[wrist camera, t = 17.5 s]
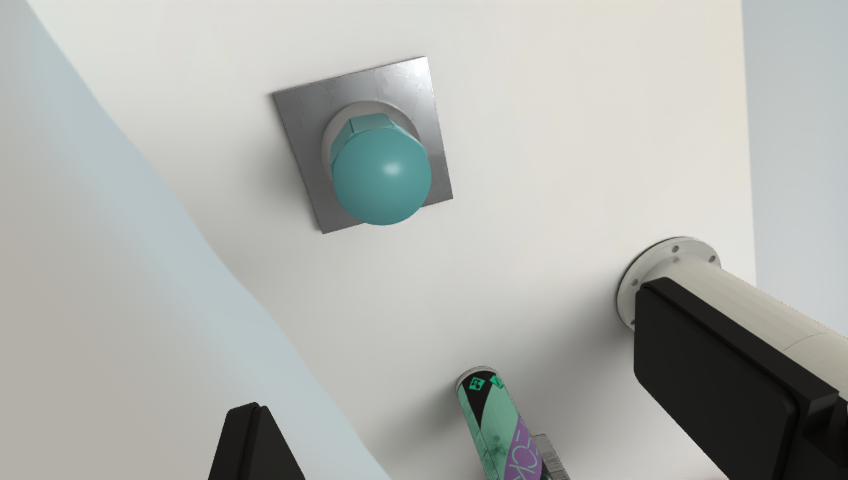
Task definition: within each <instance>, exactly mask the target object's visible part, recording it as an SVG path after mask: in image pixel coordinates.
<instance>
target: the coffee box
mask: <svg viewBox="0 0 848 480" xmlns="http://www.w3.org/2000/svg"><path fill="white" fill-rule="evenodd" d="M531 438H532V440H533V441H534V443H535V445H536V447H537V449H538V451H539V453H540V455H541V457H542V459H543V461H544V463H545V465H546V466H547V468H548V470H549V472H550V474H551V476H552V478H553V480H570V478H569V476H568V474H567V473H566V471H565V469H564V467H563V465H562V463H561V462H560V460H559V458H558V456H557V455H556V453H555V451H554V449H553V447H552V446H551V444H550V442H549V440H548V439H547V437H546V435H545V434H542V435H538V436H534V437H531Z"/></svg>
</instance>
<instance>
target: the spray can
mask: <svg viewBox="0 0 848 480" xmlns="http://www.w3.org/2000/svg"><path fill="white" fill-rule="evenodd" d="M456 393H457V397H458V399H459V402H460V405H461V408H462V410H463V413H464V416H465V418H466V421H467V424H468V427H469V429H470V432H471V435H472V438H473V440H474V443H475V446H476V448H477V451H478V454H479V457H480V459H481V462H482V465H483V468H484V470H485V473H486V476H487V478H488V480H553V478H552V476H551V474H550V472H549V470H548V468H547V466H546V465H545V463H544V461H543V459H542V457H541V455H540V453H539V451H538V449H537V447H536V445H535V443H534V441H533V440H532V438H531V436H530V434H529V432H528V430H527V428H526V426H525V424H524V422H523V420H522V418H521V416H520V414H519V413H518V411H517V409H516V407H515V405H514V403H513V401H512V399H511V397H510V395H509V393H508V391H507V389H506V388H505V386H504V384H503V382H502V380H501V378H500V376H499V375H498V373H497V372H496V371H495V370H494V369H492V368H490V367H484V366H482V367H476V368H473V369H470V370H468V371H467V372H465V373H464V374H463V375H462V376H461V377H460V378H459V380H458V381H457V384H456Z"/></svg>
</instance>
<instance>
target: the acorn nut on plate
mask: <svg viewBox="0 0 848 480" xmlns="http://www.w3.org/2000/svg"><path fill="white" fill-rule="evenodd" d="M273 95H274V97H275V100H276V103H277V106H278V109H279V112H280V114H281V117H282V120H283V123H284V126H285V129H286V131H287V134H288V137H289V140H290V143H291V146H292V148H293V151H294V154H295V157H296V160H297V163H298V165H299V168H300V171H301V174H302V177H303V180H304V182H305V185H306V188H307V191H308V194H309V197H310V199H311V202H312V205H313V208H314V211H315V214H316V217H317V219H318V222H319V225H320V228H321V231H322V234H326V233H329V232H333V231H337V230H340V229H344V228H348V227H351V226H355V225H359V224H362V223H365V222H362V221H360V220H358V219H356V218H355V217H353V216H352V215H351V214H349V213H348V212H347V211H346V210H345V209H344V207H343V206H341V205H340V204H339V203H338V199H337V195H336V193H335V189H334V183H333V178H332V173H331V169H330V147H331V144H332V143H333V141H334V140H335V138H336V137H337V135H338V134H339V132H340V131H341V129H342V128H343V126H344V125H345V123H346V122H347V120H348V119H350V118H352V117H358V116H364V115H370V114H376V113H383V114H384V113H385V114H386V115H387V116H389V117H390V118H391V119H393V120H394V121H395V122H397V123H398V124H399V125H401V126H402V127H403V128H405V129H406V130H407V131H409V132H410V133H411V134H412V135H413V136H414V137H415V138H416V139H417V140H418V141H419V142H420V143H421V144H422V145H423V146H424V147H425V149H426V153H427V158H428V161H429V164H430V169H431V186H430V190H429V192H428V195H427V197H426V199H425V201H424V203H423V204H422V206H421V207H424V206H428V205H432V204H435V203H439V202H443V201H446V200H450V199H453V195H452V189H451V184H450V179H449V173H448V168H447V163H446V157H445V152H444V147H443V142H442V136H441V131H440V126H439V120H438V115H437V110H436V105H435V99H434V94H433V89H432V83H431V78H430V73H429V67H428V62H427V57H426V56H423V57H419V58H414V59H410V60H406V61H402V62H398V63H394V64H389V65H385V66H381V67H377V68H373V69H369V70H364V71H360V72H356V73H352V74H348V75H343V76H339V77H335V78H331V79H327V80H323V81H318V82H314V83H310V84H306V85H302V86H298V87H293V88H289V89H285V90H281V91H277V92H274V93H273ZM421 207H420V208H421Z"/></svg>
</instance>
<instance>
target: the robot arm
mask: <svg viewBox="0 0 848 480" xmlns="http://www.w3.org/2000/svg"><path fill="white" fill-rule="evenodd" d="M617 306H618V312H619V314H620V317H621V319H622V320H623V321H624V323H625V324H626V325H627V326H629V327H630V328H631V329H632V330H633V331H635V332H634V373H635V376H636V378H637V380H638V381H639V383H640V384H641V385H642V386H643V387H644V388H645V389H646V390H647V391H648V393H649V394H650V395H651V396H652V397H653V398H654V399H655V400H656V401H657V402H658V403H659V404H660V405H661V406H662V408H663V409H664V410H665V411H666V412H667V413H668V414H669V415H670V416H671V417H672V418H673V419H674V420H675V421H676V423H677V424H678V425H679V426H680V427H681V428H682V429H683V430H684V431H685V432H686V433H687V434H688V435H689V436H690V438H691V439H692V440H693V441H694V442H695V443H696V444H697V445H698V446H699V447H700V448H701V449H702V450H703V452H704V453H705V454H706V455H707V456H708V457H709V458H710V459H711V460H712V461H713V462H714V463H715V464H716V465H717V467H718V468H719V469H720V470H721V471H722V472H723V473H724V474H725V475H726V476H727V477H728V478H729V479H730V480H848V339H847V338H846V337H844V336H842V335H840V334H838V333H836V332H835V331H833V330H831V329H829V328H827V327H826V326H824V325H822V324H820V323H819V322H817V321H815V320H813V319H811V318H809V317H808V316H806V315H804V314H802V313H801V312H799V311H797V310H795V309H793V308H791V307H789V306H788V305H786V304H784V303H783V302H781V301H779V300H777V299H775V298H773V297H772V296H770V295H768V294H766V293H764V292H763V291H761V290H759V289H757V288H755V287H754V286H752V285H750V284H748V283H746V282H745V281H743V280H741V279H739V278H737V277H736V276H734V275H732V274H730V273H728V272H727V271H725V270H723V269H721V263H720V259H719V257H718V254H717V252H716V251H715V250H714V249H713V248H712V247H711V246H709V245H708V244H706V243H704V242H702V241H700V240H698V239H695V238H689V237H681V238H674V239H670V240H667V241H664V242H662V243H660V244H657V245H656V246H654V247H653V248H651V249H649V250H648V251H646V252H645V253H644V254H643V255H642V256H640V257H639V258H638V259H637V260H636V262H635V263H634V264H633V265H632V266H631V267H630V269H629V270H628V272H627V273H626V275H625V277H624V279H623V281H622V283H621V285H620V288H619V292H618V298H617ZM208 480H305V477H304V475H303V473H302V471H301V469H300V468H299V466H298V464H297V462H296V460H295V458H294V456H293V454H292V452H291V450H290V449H289V447H288V445H287V443H286V441H285V439H284V437H283V435H282V433H281V431H280V430H279V428H278V426H277V424H276V422H275V420H274V418H273V416H272V415H271V412H270V411H269V409H268V407H267V406H262V407H260V406H259V404H258V403H256V402H253V403H249V404H246V405H243V406H240V407H236V408H233V409H230V410H229V411H228V413H227V416H226V419H225V423H224V426H223V429H222V433H221V436H220V439H219V443H218V446H217V450H216V453H215V457H214V460H213V464H212V468H211V471H210V474H209V478H208Z"/></svg>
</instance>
